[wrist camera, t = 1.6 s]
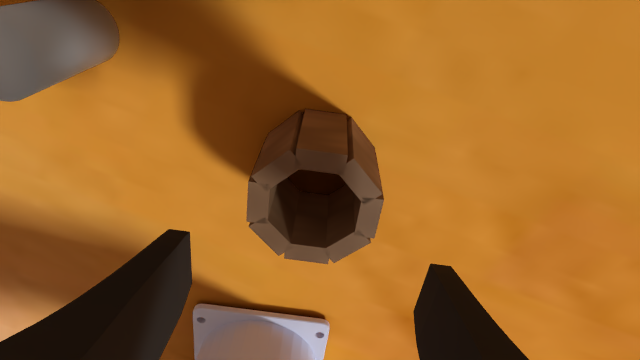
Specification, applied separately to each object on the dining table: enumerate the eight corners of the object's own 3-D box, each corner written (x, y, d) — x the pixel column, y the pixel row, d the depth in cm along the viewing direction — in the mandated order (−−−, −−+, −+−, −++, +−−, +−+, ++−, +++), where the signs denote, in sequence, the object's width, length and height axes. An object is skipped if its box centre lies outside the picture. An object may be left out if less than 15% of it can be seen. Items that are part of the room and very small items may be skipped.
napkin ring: (362, 213, 20) (366, 269, 16) (262, 200, 20) (245, 253, 16) (383, 119, 17) (393, 161, 14) (268, 103, 17) (250, 141, 14)
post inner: (122, 66, 17) (45, 106, 12) (60, 58, 17) (-39, 95, 12) (115, -1, 15) (26, 17, 11) (47, -10, 15) (-69, 4, 11)
